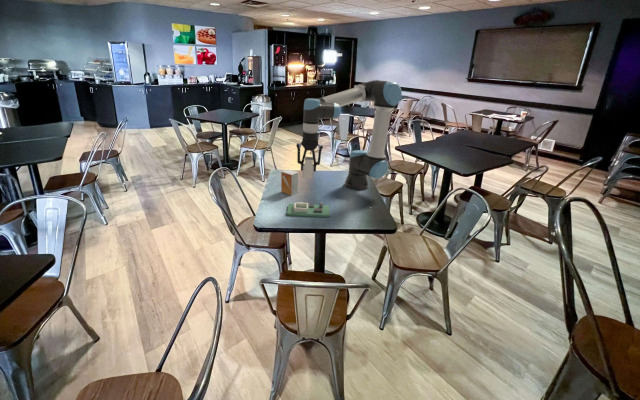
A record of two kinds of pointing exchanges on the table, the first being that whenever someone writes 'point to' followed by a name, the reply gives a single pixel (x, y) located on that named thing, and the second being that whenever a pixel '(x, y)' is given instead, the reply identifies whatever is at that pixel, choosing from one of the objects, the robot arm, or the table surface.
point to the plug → (308, 167)
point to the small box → (289, 182)
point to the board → (308, 210)
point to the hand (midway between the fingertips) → (307, 176)
